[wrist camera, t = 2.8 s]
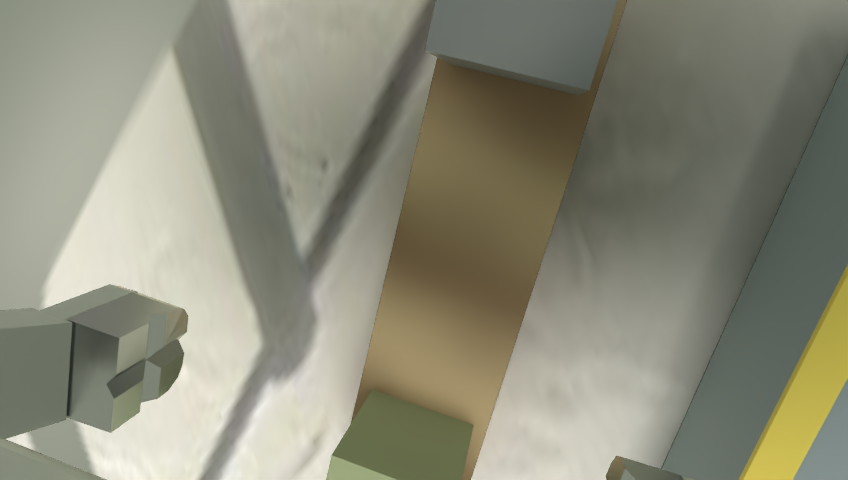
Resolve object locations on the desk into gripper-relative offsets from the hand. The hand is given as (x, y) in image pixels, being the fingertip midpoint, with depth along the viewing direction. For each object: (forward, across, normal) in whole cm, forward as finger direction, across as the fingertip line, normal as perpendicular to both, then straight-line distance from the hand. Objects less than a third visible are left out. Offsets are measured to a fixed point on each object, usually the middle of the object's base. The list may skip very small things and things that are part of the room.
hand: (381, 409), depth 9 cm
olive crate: (+9, 0, +7) cm, 12 cm away
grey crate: (+9, 0, -9) cm, 12 cm away
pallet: (+12, 0, -1) cm, 12 cm away
